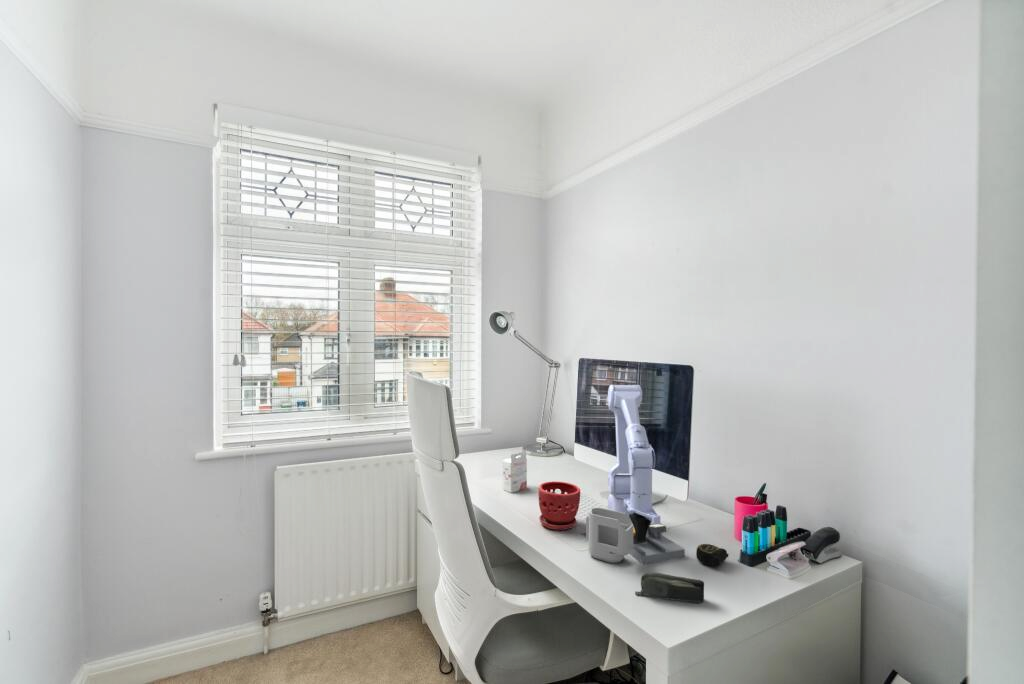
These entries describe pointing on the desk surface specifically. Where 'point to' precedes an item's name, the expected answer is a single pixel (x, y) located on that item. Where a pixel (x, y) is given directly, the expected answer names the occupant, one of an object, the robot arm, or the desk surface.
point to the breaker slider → (636, 538)
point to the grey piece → (609, 534)
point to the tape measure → (711, 554)
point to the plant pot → (558, 505)
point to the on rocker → (657, 528)
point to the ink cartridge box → (515, 473)
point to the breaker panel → (656, 549)
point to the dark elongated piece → (672, 587)
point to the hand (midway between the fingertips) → (641, 540)
